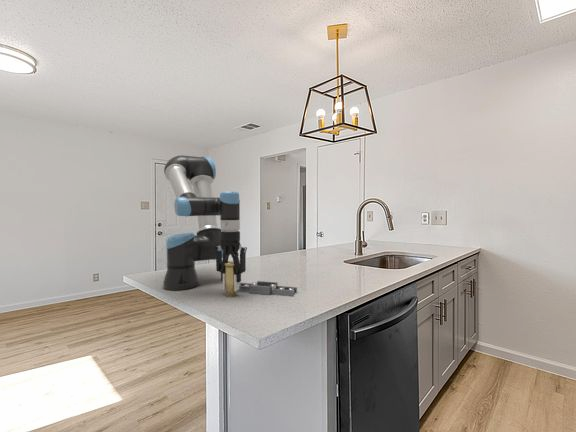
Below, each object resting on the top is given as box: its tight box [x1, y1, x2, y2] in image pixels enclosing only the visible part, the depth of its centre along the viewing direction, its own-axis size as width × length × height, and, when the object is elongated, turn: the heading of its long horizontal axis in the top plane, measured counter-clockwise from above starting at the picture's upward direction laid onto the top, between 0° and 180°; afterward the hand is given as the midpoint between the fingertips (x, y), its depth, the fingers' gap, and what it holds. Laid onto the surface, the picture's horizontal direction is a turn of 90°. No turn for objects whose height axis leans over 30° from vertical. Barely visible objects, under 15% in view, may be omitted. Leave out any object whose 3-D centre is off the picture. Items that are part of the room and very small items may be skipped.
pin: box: [224, 260, 238, 298], centre depth 121 cm, size 5×5×13 cm
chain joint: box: [237, 280, 298, 297], centre depth 126 cm, size 29×8×3 cm, turn 70°
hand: (231, 289), depth 121 cm, fingers closed on pin, 4 cm apart
